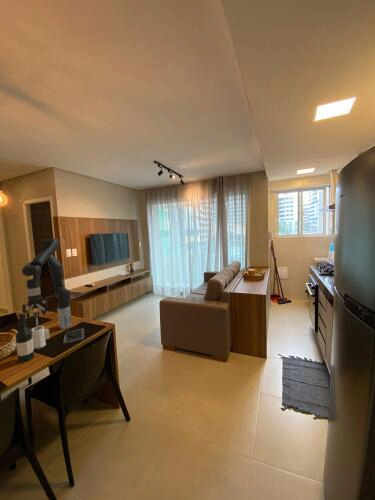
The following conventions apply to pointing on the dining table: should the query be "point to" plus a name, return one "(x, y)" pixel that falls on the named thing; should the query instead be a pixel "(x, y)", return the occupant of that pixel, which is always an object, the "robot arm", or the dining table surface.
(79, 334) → the picture frame
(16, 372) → the dining table surface
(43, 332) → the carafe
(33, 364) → the dining table surface
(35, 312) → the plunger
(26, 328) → the wine bottle
